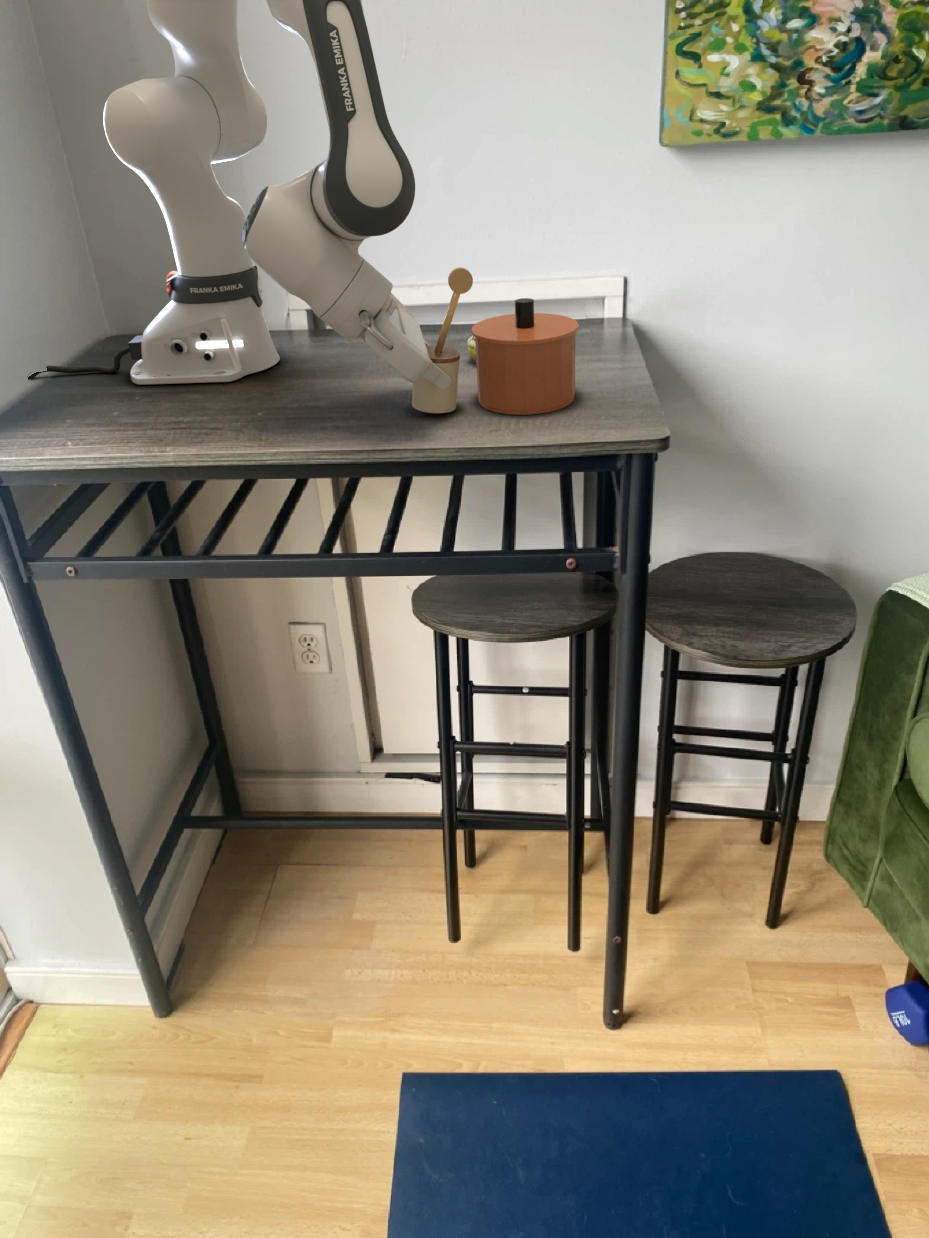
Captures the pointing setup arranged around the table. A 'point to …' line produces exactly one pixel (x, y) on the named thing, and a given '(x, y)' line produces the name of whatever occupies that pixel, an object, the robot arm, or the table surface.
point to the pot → (526, 376)
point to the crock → (443, 356)
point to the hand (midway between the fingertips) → (444, 375)
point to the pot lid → (525, 326)
